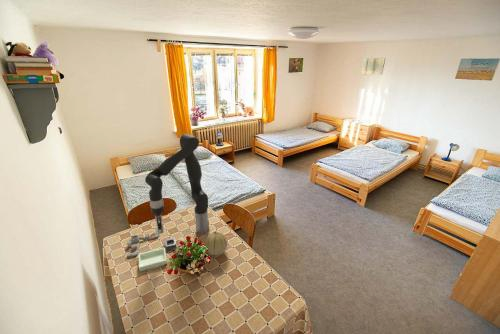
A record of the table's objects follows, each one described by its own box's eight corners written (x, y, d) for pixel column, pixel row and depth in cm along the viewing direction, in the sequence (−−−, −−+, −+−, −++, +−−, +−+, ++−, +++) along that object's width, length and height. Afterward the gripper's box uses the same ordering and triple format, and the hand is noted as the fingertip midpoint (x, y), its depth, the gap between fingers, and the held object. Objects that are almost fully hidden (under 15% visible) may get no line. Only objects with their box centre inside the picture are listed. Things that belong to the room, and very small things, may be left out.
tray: (165, 250, 163) (164, 247, 162) (167, 264, 153) (166, 260, 152) (139, 257, 158) (138, 253, 156) (139, 271, 148) (138, 267, 146)
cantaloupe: (212, 263, 154) (210, 245, 148) (201, 249, 165) (200, 232, 158) (231, 253, 162) (231, 236, 156) (220, 241, 173) (220, 224, 166)
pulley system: (116, 253, 161) (132, 260, 156) (114, 248, 159) (131, 254, 154) (147, 230, 184) (162, 235, 179) (146, 225, 183) (161, 229, 177)
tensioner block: (175, 240, 172) (175, 237, 171) (176, 247, 166) (176, 244, 165) (165, 243, 170) (164, 240, 168) (166, 250, 164) (165, 246, 163)
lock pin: (163, 229, 159) (161, 215, 154) (164, 233, 155) (162, 219, 151) (157, 230, 157) (155, 216, 153) (157, 234, 154) (155, 220, 149)
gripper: (164, 209, 143) (167, 233, 150) (162, 197, 155) (165, 219, 162) (150, 212, 140) (154, 235, 148) (150, 199, 152) (153, 221, 159)
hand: (160, 227), depth 155 cm, fingers closed on lock pin, 3 cm apart
